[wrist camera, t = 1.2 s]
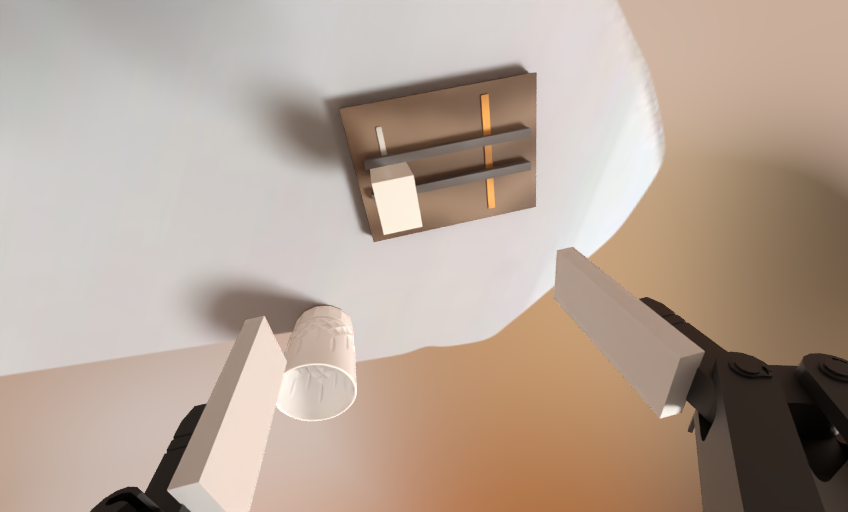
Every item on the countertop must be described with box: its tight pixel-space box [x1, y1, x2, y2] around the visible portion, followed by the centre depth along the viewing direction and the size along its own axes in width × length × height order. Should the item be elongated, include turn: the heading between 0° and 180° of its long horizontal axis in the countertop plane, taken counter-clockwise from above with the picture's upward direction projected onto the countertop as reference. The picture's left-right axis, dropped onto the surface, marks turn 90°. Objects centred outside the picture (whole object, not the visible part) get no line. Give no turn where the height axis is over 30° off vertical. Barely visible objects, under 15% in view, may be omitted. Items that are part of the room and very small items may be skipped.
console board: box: [339, 73, 536, 242], centre depth 33 cm, size 13×18×2 cm
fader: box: [370, 162, 423, 235], centre depth 28 cm, size 4×3×8 cm
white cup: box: [276, 306, 357, 421], centre depth 36 cm, size 8×8×10 cm
